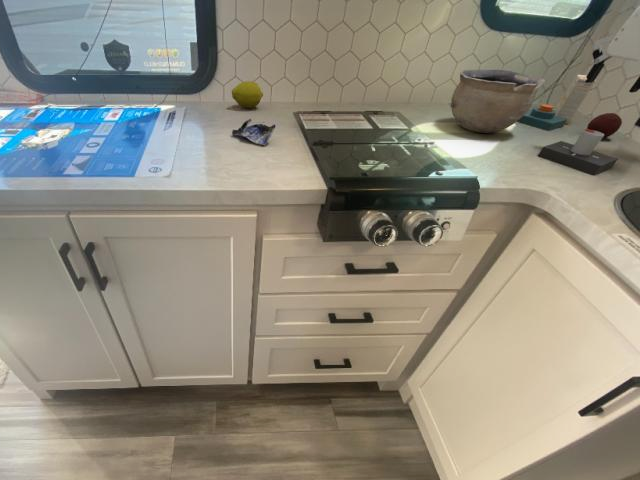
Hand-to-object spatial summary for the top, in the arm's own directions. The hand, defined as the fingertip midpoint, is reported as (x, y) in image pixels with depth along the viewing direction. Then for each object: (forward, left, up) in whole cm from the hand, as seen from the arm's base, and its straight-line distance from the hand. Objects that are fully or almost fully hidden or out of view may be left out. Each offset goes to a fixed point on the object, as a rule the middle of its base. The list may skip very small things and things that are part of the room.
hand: (610, 86), depth 86 cm
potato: (+3, -26, -17) cm, 31 cm away
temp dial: (-4, +4, -14) cm, 15 cm away
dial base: (-4, +4, -17) cm, 18 cm away
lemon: (+75, +61, -17) cm, 98 cm away
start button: (+19, -22, -13) cm, 32 cm away
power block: (+19, -22, -17) cm, 33 cm away
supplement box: (+17, -33, -17) cm, 41 cm away
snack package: (+49, +75, -17) cm, 91 cm away
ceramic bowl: (+25, +4, -17) cm, 30 cm away
